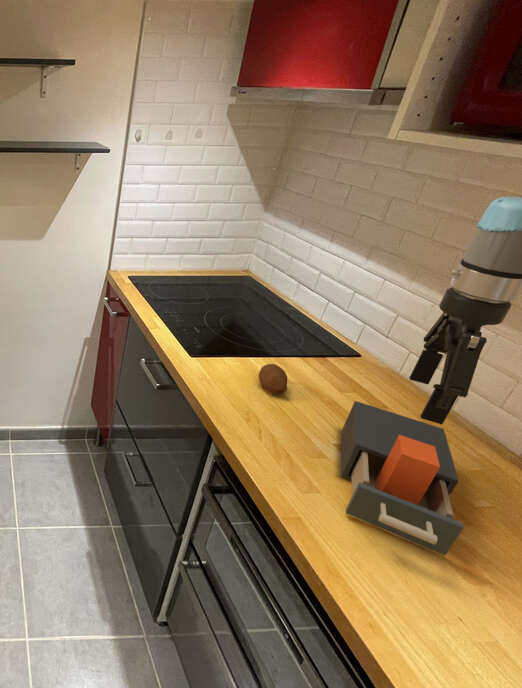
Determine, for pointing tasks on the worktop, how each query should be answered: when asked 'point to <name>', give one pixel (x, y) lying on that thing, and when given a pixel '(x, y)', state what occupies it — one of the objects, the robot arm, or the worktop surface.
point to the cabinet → (391, 439)
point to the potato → (273, 379)
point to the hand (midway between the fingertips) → (424, 399)
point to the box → (408, 470)
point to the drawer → (403, 508)
